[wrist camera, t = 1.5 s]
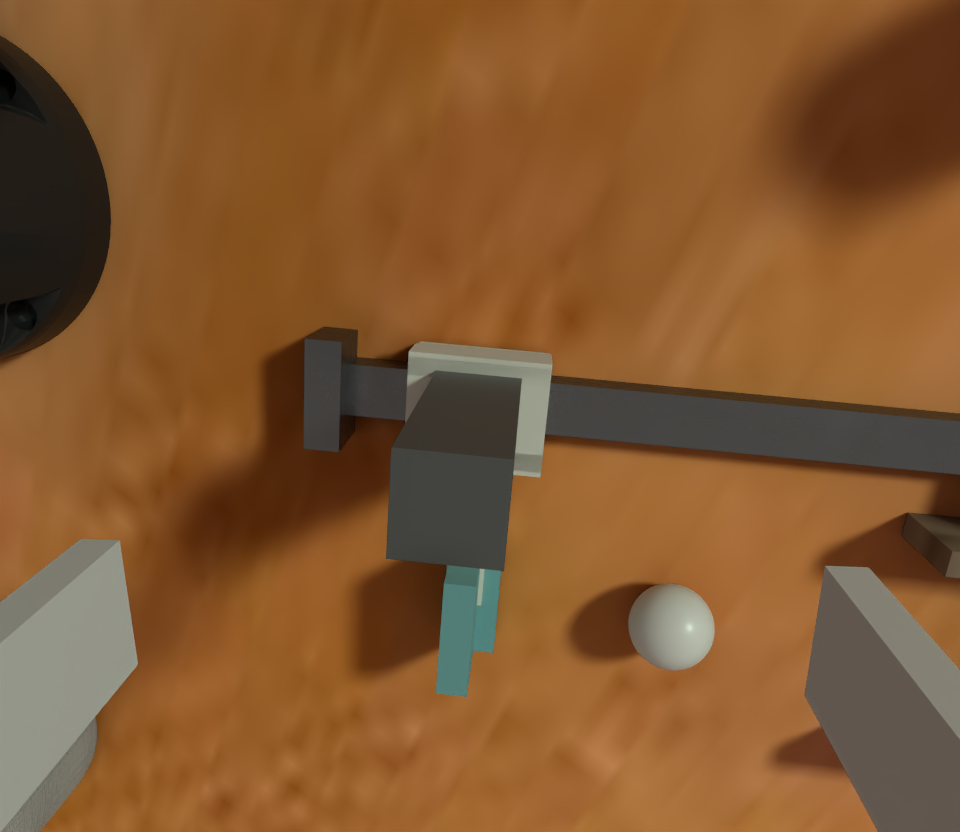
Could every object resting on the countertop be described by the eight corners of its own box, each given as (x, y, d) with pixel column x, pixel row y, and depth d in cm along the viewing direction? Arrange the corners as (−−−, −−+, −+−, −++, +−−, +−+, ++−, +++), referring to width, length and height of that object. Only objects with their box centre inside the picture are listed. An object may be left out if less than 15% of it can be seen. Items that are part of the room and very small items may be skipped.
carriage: (404, 627, 39) (338, 839, 26) (420, 336, 34) (351, 420, 22) (519, 640, 38) (510, 861, 26) (551, 348, 34) (558, 440, 21)
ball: (618, 634, 38) (627, 683, 34) (629, 564, 37) (639, 606, 33) (697, 643, 38) (715, 693, 34) (710, 572, 37) (730, 616, 33)
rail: (322, 428, 36) (303, 448, 33) (323, 326, 35) (304, 338, 32) (1026, 498, 35) (1071, 525, 32) (1059, 394, 33) (1108, 413, 30)
